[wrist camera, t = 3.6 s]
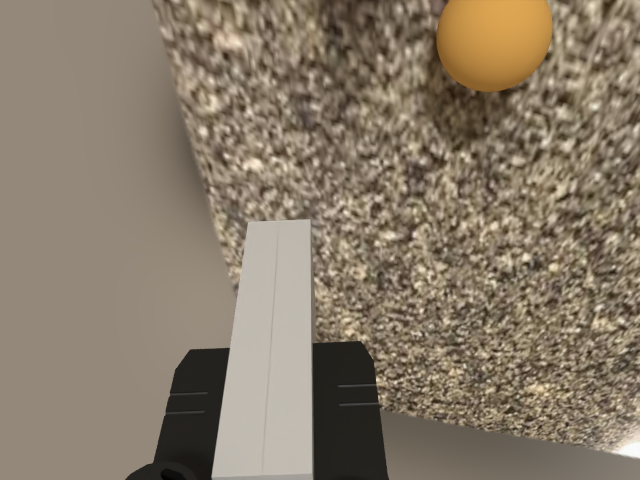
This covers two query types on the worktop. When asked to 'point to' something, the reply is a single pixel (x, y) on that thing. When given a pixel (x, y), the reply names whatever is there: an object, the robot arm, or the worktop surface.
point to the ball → (493, 41)
